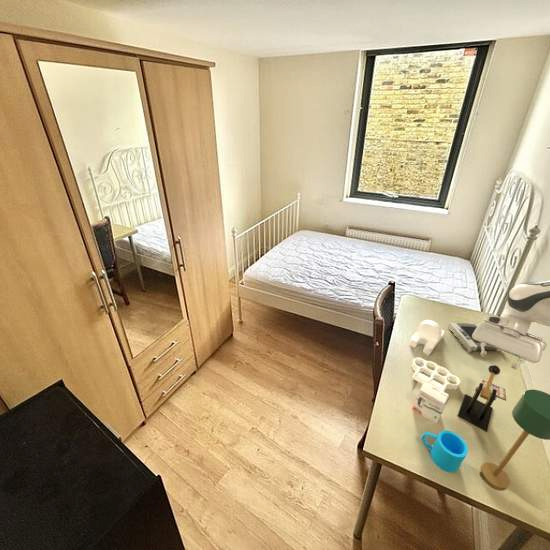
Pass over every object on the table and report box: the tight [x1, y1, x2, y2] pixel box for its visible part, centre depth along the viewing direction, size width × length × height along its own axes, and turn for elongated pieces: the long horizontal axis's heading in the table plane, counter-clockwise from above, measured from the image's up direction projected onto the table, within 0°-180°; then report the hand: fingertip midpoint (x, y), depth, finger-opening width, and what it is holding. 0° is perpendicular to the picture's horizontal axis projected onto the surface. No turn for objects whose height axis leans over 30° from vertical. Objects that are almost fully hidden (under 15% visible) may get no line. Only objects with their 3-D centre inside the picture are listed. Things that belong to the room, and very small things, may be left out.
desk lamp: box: [479, 389, 550, 492], centre depth 79 cm, size 9×9×34 cm
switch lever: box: [479, 364, 501, 401], centre depth 102 cm, size 13×3×3 cm, turn 138°
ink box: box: [412, 382, 451, 424], centre depth 102 cm, size 9×5×12 cm, turn 47°
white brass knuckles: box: [411, 357, 461, 392], centre depth 119 cm, size 3×18×15 cm
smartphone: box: [481, 379, 507, 401], centre depth 117 cm, size 8×15×1 cm, turn 145°
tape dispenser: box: [408, 319, 445, 355], centre depth 137 cm, size 10×18×11 cm, turn 135°
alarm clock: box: [447, 321, 502, 353], centre depth 140 cm, size 17×5×16 cm
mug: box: [420, 430, 469, 473], centre depth 91 cm, size 12×8×8 cm
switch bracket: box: [457, 382, 498, 433], centre depth 103 cm, size 12×9×13 cm
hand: (497, 361), depth 105 cm, fingers open, 8 cm apart
